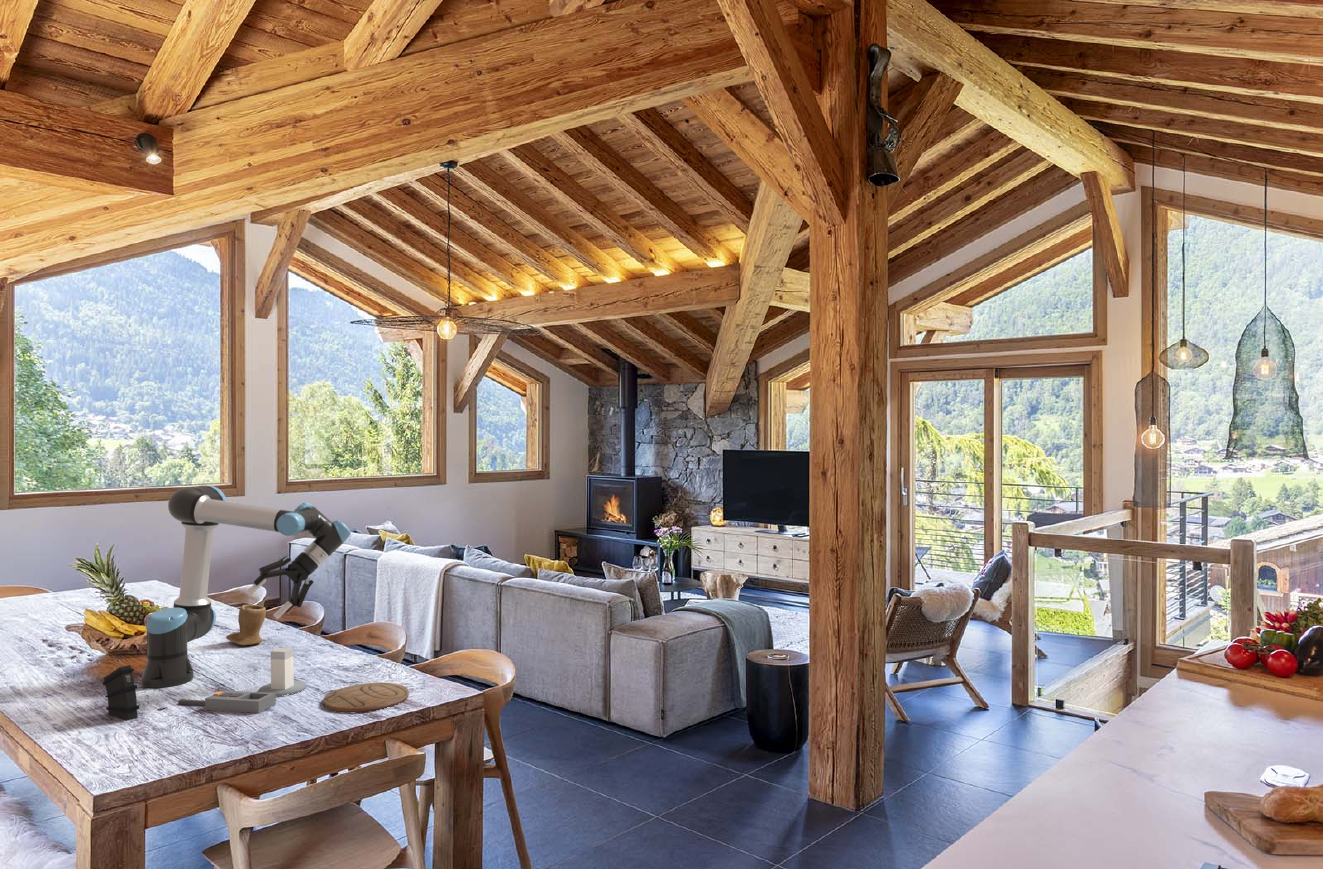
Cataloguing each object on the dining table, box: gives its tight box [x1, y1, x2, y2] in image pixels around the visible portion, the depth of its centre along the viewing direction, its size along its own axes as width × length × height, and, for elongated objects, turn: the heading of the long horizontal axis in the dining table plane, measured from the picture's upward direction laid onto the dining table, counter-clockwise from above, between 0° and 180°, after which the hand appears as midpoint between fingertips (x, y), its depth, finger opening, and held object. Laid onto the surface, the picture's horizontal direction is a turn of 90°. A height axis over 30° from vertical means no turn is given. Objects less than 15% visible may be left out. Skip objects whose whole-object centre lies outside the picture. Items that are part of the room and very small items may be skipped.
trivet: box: [322, 682, 410, 713], centre depth 264 cm, size 25×25×2 cm
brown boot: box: [225, 604, 267, 646], centre depth 337 cm, size 15×12×15 cm
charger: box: [270, 647, 295, 690], centre depth 274 cm, size 5×4×12 cm
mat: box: [257, 680, 307, 697], centre depth 274 cm, size 14×14×1 cm
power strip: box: [178, 689, 277, 714], centre depth 259 cm, size 30×8×4 cm, turn 79°
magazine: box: [102, 664, 140, 721], centre depth 251 cm, size 4×13×15 cm, turn 58°
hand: (261, 605), depth 284 cm, fingers open, 13 cm apart
